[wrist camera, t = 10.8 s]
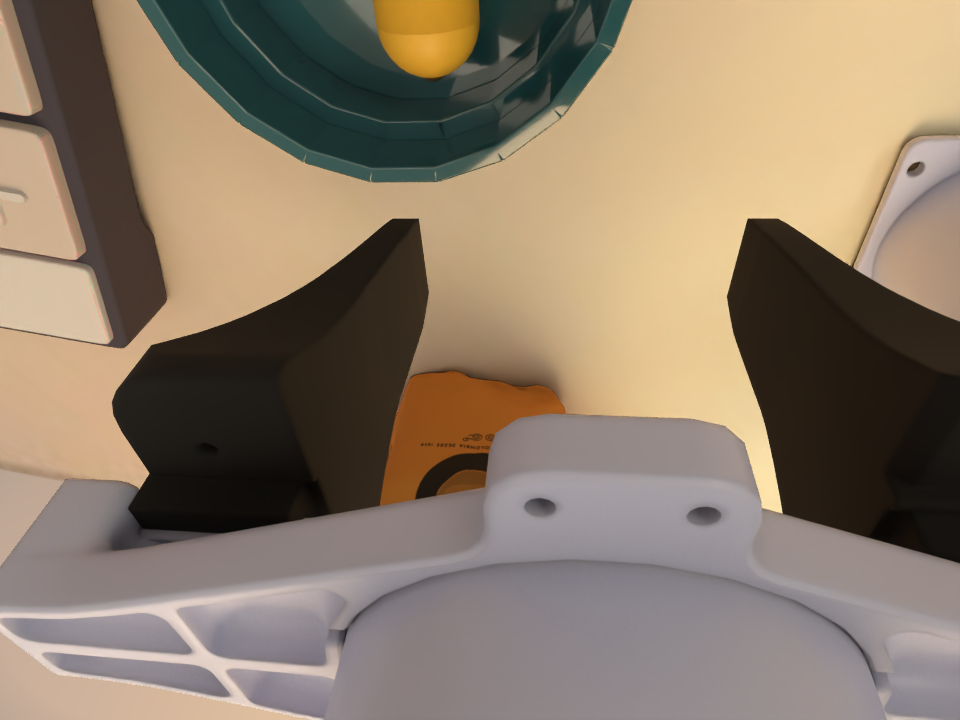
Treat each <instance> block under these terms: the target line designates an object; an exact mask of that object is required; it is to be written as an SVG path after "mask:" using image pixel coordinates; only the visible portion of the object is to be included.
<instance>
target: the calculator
mask: <svg viewBox="0 0 960 720" xmlns="http://www.w3.org/2000/svg"><path fill="white" fill-rule="evenodd" d="M166 300H167V298H166V292H165V287H164V283H163V278H162V274H161V269H160V264H159V260H158V255H157V251H156V246H155V242H154V237H153V234H152V233H151V232H150V231H149V230H148V228H147V227H146V226H145V225H144V224H143V223H142V221H141V218H140V214H139V210H138V205H137V201H136V197H135V192H134V188H133V184H132V179H131V175H130V170H129V166H128V162H127V157H126V153H125V149H124V144H123V140H122V135H121V131H120V127H119V122H118V118H117V114H116V109H115V105H114V100H113V96H112V92H111V87H110V83H109V78H108V74H107V70H106V65H105V61H104V57H103V52H102V48H101V43H100V39H99V35H98V30H97V26H96V22H95V17H94V13H93V8H92V4H91V0H0V328H5V329H11V330H17V331H22V332H28V333H34V334H40V335H45V336H51V337H57V338H62V339H68V340H74V341H79V342H85V343H91V344H97V345H102V346H108V347H114V348H125V347H126V346H127V345H128V344H129V343H130V342H131V341H132V340H133V339H134V338H135V337H136V335H137V334H138V333H139V332H140V331H141V330H142V329H143V328H144V327H145V325H146V324H147V323H148V322H149V321H150V320H151V319H152V318H153V317H154V315H155V314H156V313H157V312H158V311H159V310H160V309H161V307H162V306H163V305H164V304H165V303H166Z"/></svg>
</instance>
